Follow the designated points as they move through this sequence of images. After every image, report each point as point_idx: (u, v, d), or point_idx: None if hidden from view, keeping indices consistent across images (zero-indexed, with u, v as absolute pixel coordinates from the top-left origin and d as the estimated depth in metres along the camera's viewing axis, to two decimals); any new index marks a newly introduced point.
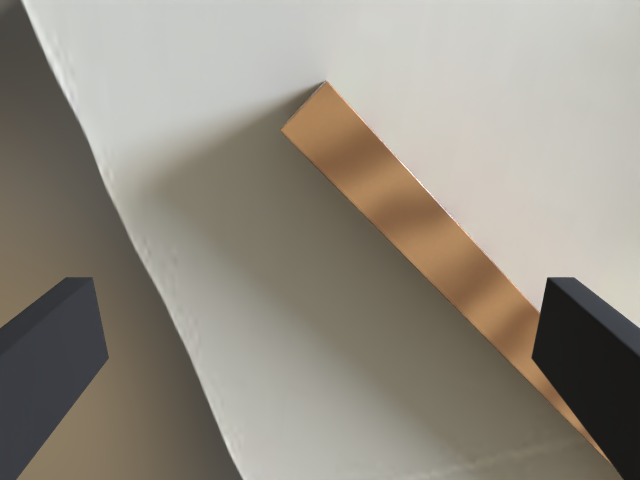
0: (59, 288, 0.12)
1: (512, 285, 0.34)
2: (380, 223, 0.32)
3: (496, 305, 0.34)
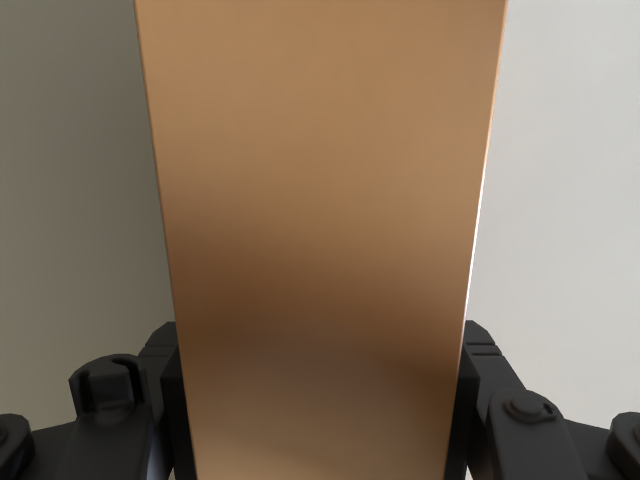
0: None
1: None
2: None
3: None
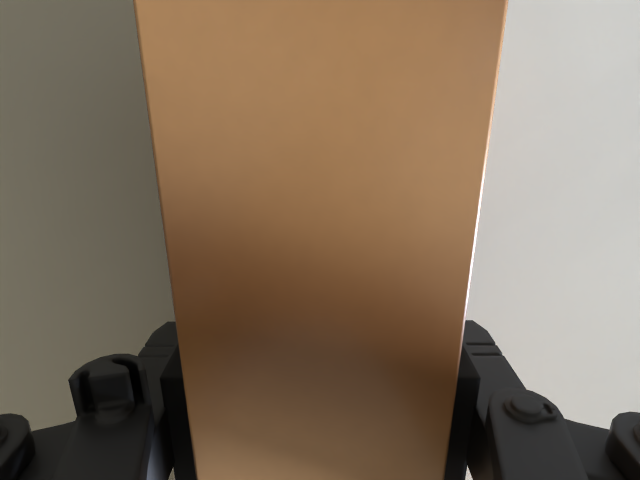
0: None
1: None
2: None
3: None
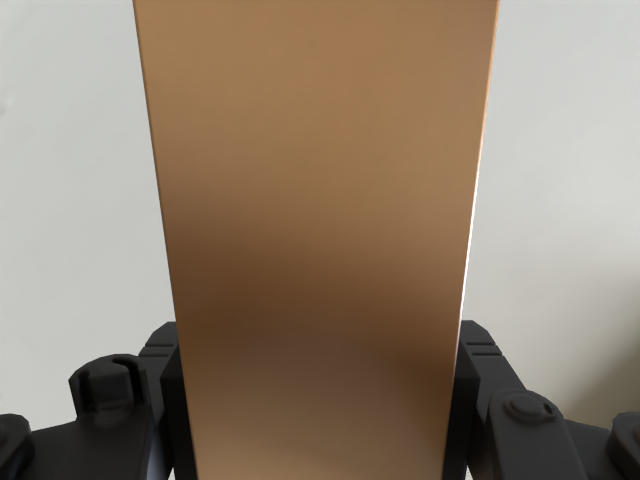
0: None
1: None
2: None
3: None
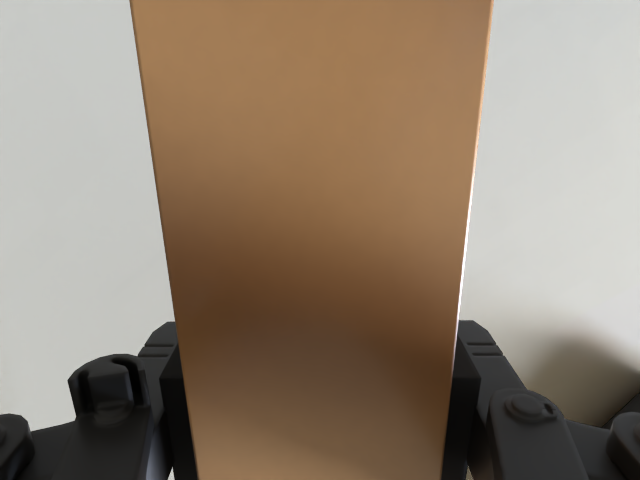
0: None
1: None
2: None
3: None
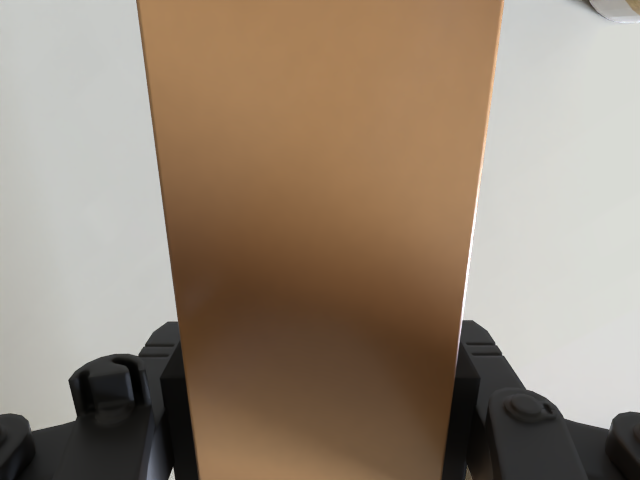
0: None
1: None
2: None
3: None
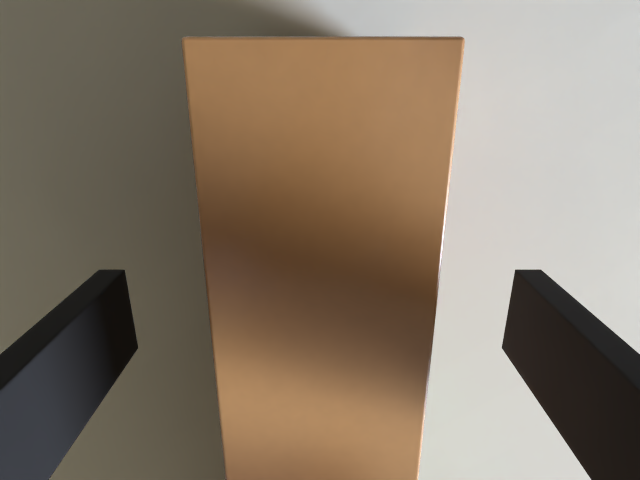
0: (94, 279, 0.12)
1: None
2: None
3: None
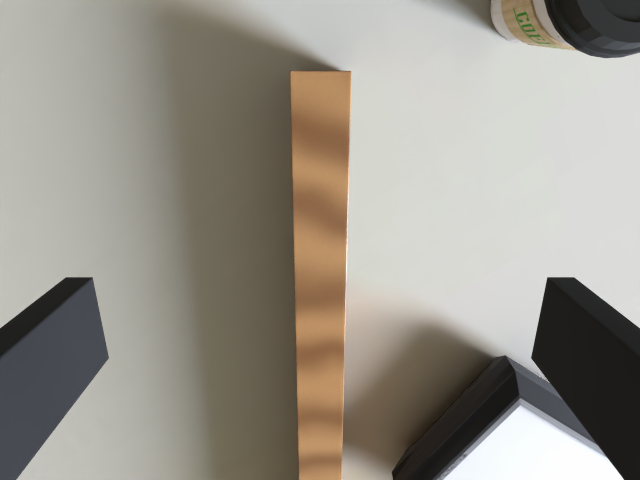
0: (59, 288, 0.12)
1: (344, 319, 0.39)
2: (297, 201, 0.35)
3: (321, 325, 0.39)
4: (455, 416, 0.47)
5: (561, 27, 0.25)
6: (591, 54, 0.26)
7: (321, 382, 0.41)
